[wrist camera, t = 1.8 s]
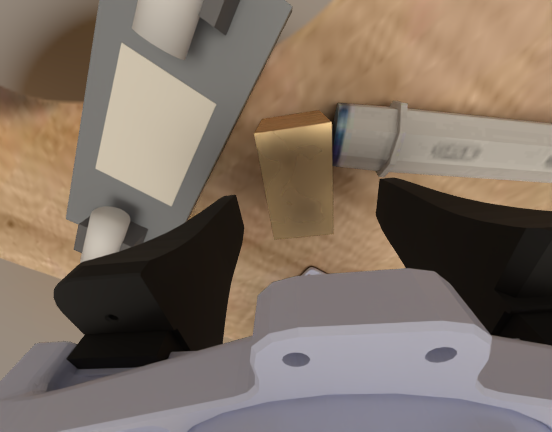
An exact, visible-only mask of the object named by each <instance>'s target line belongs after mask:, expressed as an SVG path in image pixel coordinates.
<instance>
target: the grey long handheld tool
mask: <svg viewBox="0 0 552 432" xmlns="http://www.w3.org/2000/svg"><path fill="white" fill-rule="evenodd" d="M407 105H408V104H407V103H403V102H400V101H392V103H391V105H390V107H387V106H374V105H360V104H347V103H338V104H337V108H336V112H335V117H334V123H333V128H332V166H336V167H346V168H355V169H364V170H374V171H376V173H377V175H378V176H379V177H385V176H386V174H387V173H388V172H396V173H411V174H426V175H441V176H456V177H470V178H485V179H500V180H515V181H530V182H545V183H552V123H544V122H534V121H524V120H515V119H505V118H496V117H486V116H476V115H467V114H457V113H448V112H438V111H428V110H419V109H409V108H407Z"/></svg>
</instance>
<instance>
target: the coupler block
mask: <svg viewBox="0 0 552 432" xmlns="http://www.w3.org/2000/svg"><path fill="white" fill-rule="evenodd" d="M254 136H255V141H256V147H257V152H258V157H259V163H260V168H261V173H262V179H263V184H264V189H265V194H266V200H267V205H268V210H269V216H270V221H271V226H272V231H273V237H274V240H277V239H287V238H298V237H308V236H318V235H329V234H334V225H333V170H332V122H331V121H330V120H329V119H328V118H327V117H326V116H325V115H324V114H323V113H322V112H320V111H319V110H317V111H311V112H304V113H298V114H291V115H285V116H278V117H272V118H265V119H262V120H261V122H260V124H259V126H258V127H257V129H256V131H255V133H254Z"/></svg>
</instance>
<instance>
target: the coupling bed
mask: <svg viewBox="0 0 552 432" xmlns="http://www.w3.org/2000/svg"><path fill="white" fill-rule="evenodd" d="M291 13H292V6H291V5H290V4H289V3H287V2H286V1H285V0H99V6H98V13H97V19H96V26H95V32H94V39H93V45H92V52H91V58H90V65H89V72H88V78H87V85H86V92H85V98H84V104H83V111H82V117H81V124H80V130H79V137H78V143H77V150H76V156H75V163H74V169H73V176H72V182H71V189H70V195H69V202H68V208H67V215H66V219H67V220H69V221H72V222H74V223H76V224H79V225H78V230H77V235H76V240H75V246H74V250H76V251H78V252H80V253H82V256H81V261H80V262H81V263H82V262H83V261H87V260H91V259H95V258H98V257H102V256H105V255H109V254H112V253H116V252H119V251H122V250H125V249H128V248H131V247H133V246H136V245H139V244H141V243H144V242H147V241H149V240H151V239H153V238H156V237H158V236H160V235H162V234H165V233H167V232H169V231H171V230H172V229H174V228H176V227H178V226H180V225H182V224H183V223H185V222H187V220H188V218H189V216H190V214H191V212H192V210H193V208H194V206H195V204H196V202H197V200H198V198H199V196H200V194H201V192H202V190H203V188H204V186H205V184H206V182H207V180H208V178H209V176H210V174H211V172H212V170H213V168H214V166H215V164H216V162H217V160H218V158H219V156H220V154H221V152H222V150H223V148H224V146H225V144H226V142H227V140H228V138H229V136H230V134H231V132H232V130H233V128H234V126H235V124H236V122H237V120H238V118H239V116H240V114H241V112H242V110H243V108H244V106H245V104H246V102H247V100H248V98H249V96H250V94H251V92H252V90H253V88H254V86H255V84H256V82H257V80H258V78H259V76H260V74H261V72H262V70H263V68H264V66H265V64H266V62H267V60H268V58H269V56H270V54H271V52H272V50H273V48H274V46H275V44H276V42H277V40H278V38H279V36H280V34H281V32H282V30H283V28H284V26H285V24H286V22H287V20H288V18H289V16H290V14H291Z"/></svg>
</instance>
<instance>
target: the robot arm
mask: <svg viewBox="0 0 552 432" xmlns="http://www.w3.org/2000/svg"><path fill="white" fill-rule="evenodd" d="M376 217H377V219H378V222H379V224H380V226H381V229H382V231H383V232H384V234H385V236H386V237H387V239H388V240H389V242H390V244H391V245H392V247H393V248H394V250H395V251H396V253H397V254H398V256H399V258H400V259H401V261H402V262H403V264H404V266H405V267H406V268H404V269H389V270H375V271H361V272H347V273H333V274H326V273H324V272H322V271H320V270H318V269H316V268H314V267H310V268H308V269H307V270H306V271H305V272H304V273H303V274H302V275H301V276H294V277H290V278H287V279H283V280H279V281H276V282H272V283H271V284H270V285H269V286H268V287H267V288H265V289H264V290H263V291H262V292H261V293H260V294H259V295H258V298H257V306H256V314H255V322H254V330H253V336H249V337H246V338H242V339H238V340H235V341H231V342H228V343H224V344H223V335H224V327H225V318H226V311H227V304H228V298H229V292H230V286H231V281H232V277H233V274H234V270H235V267H236V263H237V260H238V256H239V253H240V249H241V246H242V242H243V234H244V224H243V220H242V217H241V213H240V209H239V205H238V201H237V197H236V195H230V196H224V197H222V198H220V199H219V200H217V201H216V202H214V203H213V204H212V205H210V206H209V207H207V208H206V209H205V210H203V211H202V212H200V213H199V214H197V215H196V216H194V217H193V218H191V219H190V220H188V221H187V222H185V223H183V224H182V225H180V226H178V227H176V228H174V229H172V230H171V231H169V232H167V233H165V234H162V235H160V236H158V237H156V238H153V239H151V240H149V241H147V242H144V243H141V244H139V245H136V246H133V247H131V248H128V249H125V250H122V251H119V252H116V253H112V254H109V255H105V256H102V257H98V258H95V259H91V260H87V261H83V262H82V263H80V264H79V265H78V266H77V267H76V268H75V269H73V270H72V271H71V272H70V273H69V274H68V275H67V276H66V277H65V278H64V279H62V280H61V281H60V282H59V283H58V284H57V286H56V287H55V289H54V300H55V302H56V304H57V306H58V307H59V309H60V310H61V311H62V313H63V314H64V315H65V316H66V317H67V318H68V319H69V320H70V321H71V322H72V323H73V324H74V325H75V326H76V327H77V328H79V330H80V331H81V332H82V333H83V334H85V335H84V337H83V338H82V339H81V340H80V342H79V343H78V344H75V343H72V342H66V341H63V342H41V343H37V344H35V345H34V346H33V347H32V348H31V349H30V350H29V351H28V352H27V353H26V354H25V355H24V356H23V357H22V359H21V360H20V361H19V362H18V363H17V364H16V365H15V366H14V367H13V368H12V369H11V370H10V371H9V372H8V373H7V375H6V376H5V377H4V378H3V379H2V380H1V381H0V432H552V211H542V210H532V209H523V208H516V207H509V206H502V205H495V204H489V203H484V202H479V201H474V200H470V199H465V198H461V197H457V196H453V195H450V194H446V193H442V192H439V191H436V190H433V189H429V188H426V187H423V186H420V185H417V184H414V183H411V182H408V181H405V180H402V179H398V178H385V179H380V181H379V190H378V199H377V209H376ZM309 274H310V275H309Z"/></svg>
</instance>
